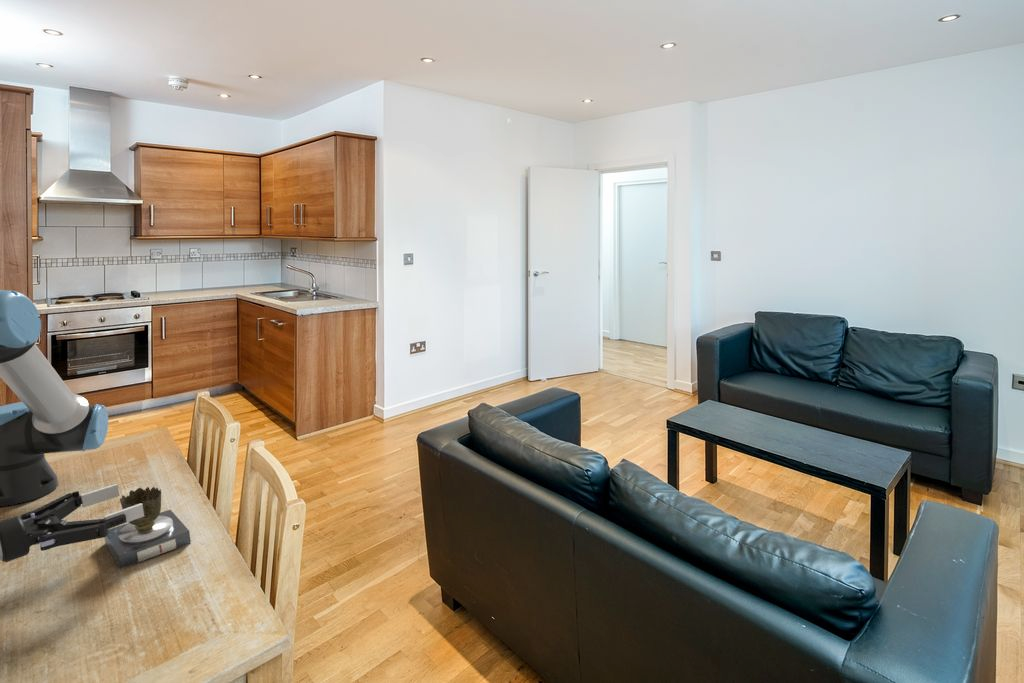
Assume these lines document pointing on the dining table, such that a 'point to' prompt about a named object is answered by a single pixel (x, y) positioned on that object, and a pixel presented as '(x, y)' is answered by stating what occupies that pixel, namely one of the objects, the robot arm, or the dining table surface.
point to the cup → (144, 506)
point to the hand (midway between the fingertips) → (130, 499)
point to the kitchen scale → (146, 539)
